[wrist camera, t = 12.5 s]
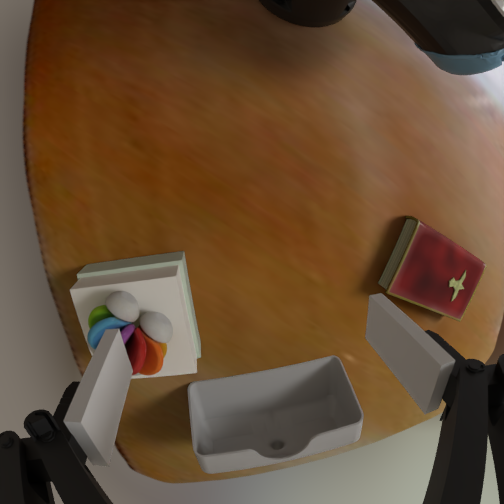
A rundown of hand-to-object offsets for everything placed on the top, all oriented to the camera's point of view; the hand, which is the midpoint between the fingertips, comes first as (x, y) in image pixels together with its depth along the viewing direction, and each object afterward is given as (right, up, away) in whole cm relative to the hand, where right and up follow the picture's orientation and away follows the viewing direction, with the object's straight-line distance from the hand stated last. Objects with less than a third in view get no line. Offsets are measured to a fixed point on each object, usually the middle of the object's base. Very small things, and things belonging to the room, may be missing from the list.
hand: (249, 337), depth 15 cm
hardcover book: (+31, +1, +33) cm, 45 cm away
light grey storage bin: (+3, -22, +35) cm, 41 cm away
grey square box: (-15, -3, +26) cm, 31 cm away
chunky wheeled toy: (-14, -4, +19) cm, 24 cm away
